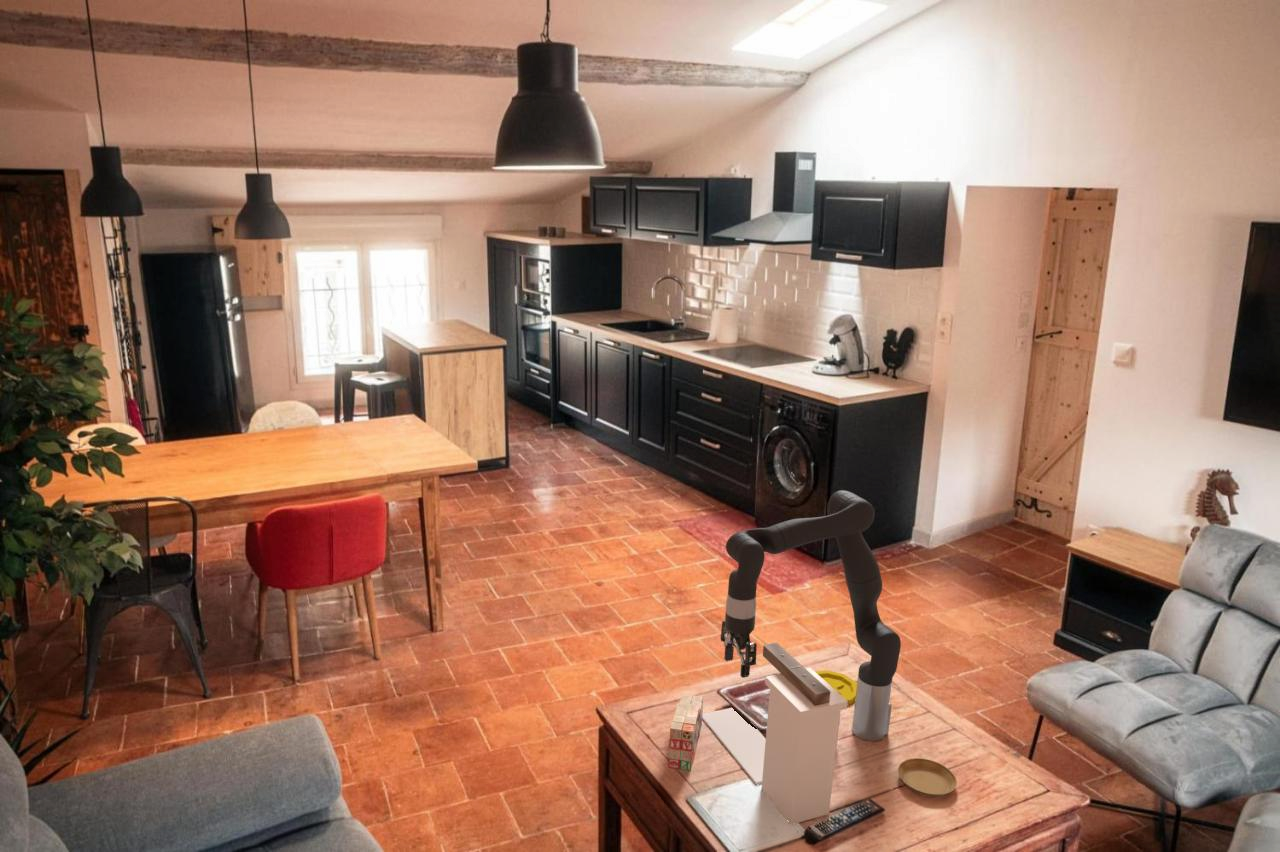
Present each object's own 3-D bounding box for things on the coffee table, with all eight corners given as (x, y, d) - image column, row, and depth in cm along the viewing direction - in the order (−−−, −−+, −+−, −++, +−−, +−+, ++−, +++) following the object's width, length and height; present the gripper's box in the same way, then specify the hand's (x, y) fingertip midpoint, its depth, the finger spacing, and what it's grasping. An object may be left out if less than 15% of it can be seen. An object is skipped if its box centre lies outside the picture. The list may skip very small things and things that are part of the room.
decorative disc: (792, 679, 280) (792, 673, 280) (843, 674, 284) (844, 668, 284) (814, 709, 265) (815, 703, 264) (868, 703, 269) (869, 697, 268)
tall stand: (799, 776, 234) (810, 667, 225) (834, 815, 220) (847, 701, 211) (756, 787, 229) (765, 676, 220) (789, 828, 215) (800, 711, 206)
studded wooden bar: (776, 653, 232) (777, 642, 231) (829, 702, 210) (830, 690, 210) (762, 655, 230) (763, 644, 229) (814, 705, 209) (816, 694, 208)
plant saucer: (884, 773, 237) (886, 764, 236) (929, 761, 243) (930, 752, 242) (922, 808, 224) (923, 800, 223) (968, 795, 230) (969, 786, 229)
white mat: (736, 708, 263) (736, 706, 263) (795, 774, 235) (795, 772, 235) (700, 716, 258) (700, 714, 258) (755, 784, 230) (756, 782, 230)
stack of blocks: (680, 722, 256) (682, 683, 252) (702, 725, 254) (704, 687, 251) (667, 768, 235) (669, 727, 232) (691, 772, 234) (693, 731, 231)
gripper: (768, 621, 220) (763, 679, 224) (740, 596, 232) (735, 652, 237) (741, 626, 217) (737, 685, 221) (714, 600, 229) (710, 657, 234)
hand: (736, 668), depth 229 cm, fingers open, 8 cm apart
